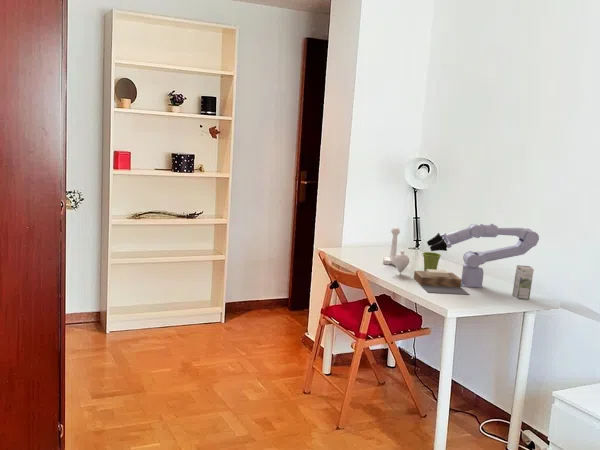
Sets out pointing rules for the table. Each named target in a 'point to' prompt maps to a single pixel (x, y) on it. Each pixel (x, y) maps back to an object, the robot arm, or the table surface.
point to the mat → (444, 290)
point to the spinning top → (401, 261)
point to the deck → (437, 279)
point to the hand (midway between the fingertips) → (429, 246)
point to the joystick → (392, 247)
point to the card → (436, 273)
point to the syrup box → (523, 282)
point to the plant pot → (431, 260)
